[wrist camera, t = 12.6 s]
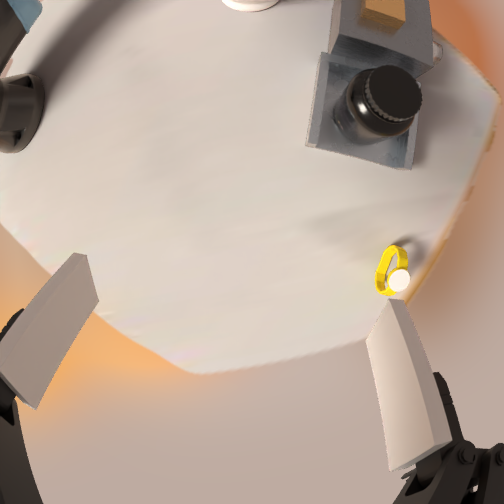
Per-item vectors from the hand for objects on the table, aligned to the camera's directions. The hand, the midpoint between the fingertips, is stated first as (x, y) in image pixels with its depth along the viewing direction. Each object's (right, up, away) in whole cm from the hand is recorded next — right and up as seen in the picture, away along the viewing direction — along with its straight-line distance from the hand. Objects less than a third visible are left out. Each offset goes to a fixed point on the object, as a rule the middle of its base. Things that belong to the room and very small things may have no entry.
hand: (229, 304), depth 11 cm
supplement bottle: (+14, +18, +17) cm, 28 cm away
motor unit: (+16, +23, +16) cm, 32 cm away
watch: (+18, +1, +22) cm, 29 cm away
